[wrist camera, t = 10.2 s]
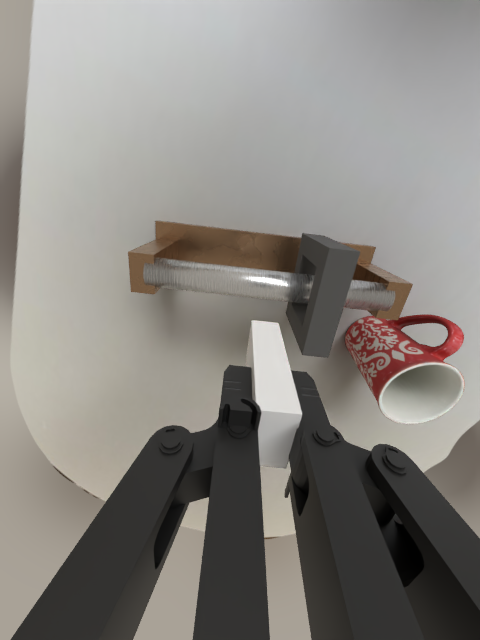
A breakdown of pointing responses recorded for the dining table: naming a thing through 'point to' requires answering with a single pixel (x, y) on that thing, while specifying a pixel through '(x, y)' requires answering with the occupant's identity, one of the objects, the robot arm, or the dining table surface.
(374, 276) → the pipe rig
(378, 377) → the mug
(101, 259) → the dining table surface
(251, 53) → the dining table surface
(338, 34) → the dining table surface
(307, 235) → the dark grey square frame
